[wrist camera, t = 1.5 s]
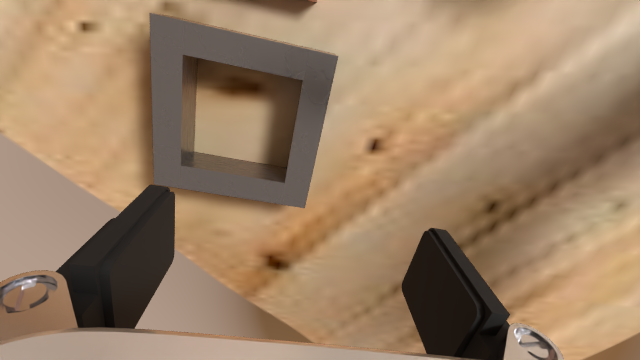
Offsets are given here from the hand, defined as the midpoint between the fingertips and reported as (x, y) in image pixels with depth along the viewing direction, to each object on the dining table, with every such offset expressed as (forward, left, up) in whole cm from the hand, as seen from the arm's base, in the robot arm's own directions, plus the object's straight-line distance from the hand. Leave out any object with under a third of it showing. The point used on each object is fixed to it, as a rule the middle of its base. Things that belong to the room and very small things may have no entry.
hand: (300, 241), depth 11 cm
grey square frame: (+5, 0, -15) cm, 16 cm away
